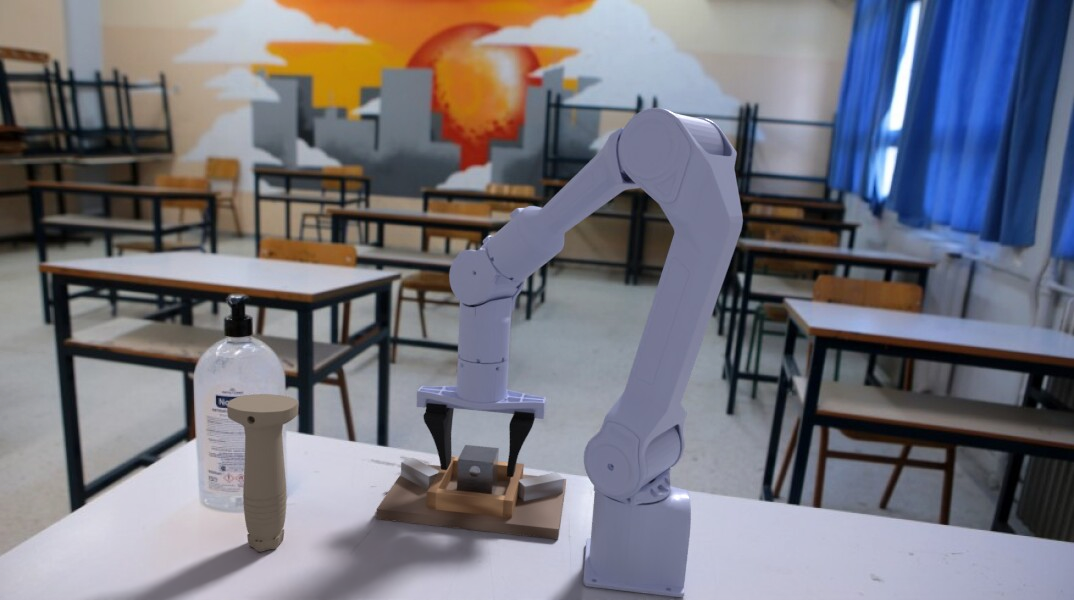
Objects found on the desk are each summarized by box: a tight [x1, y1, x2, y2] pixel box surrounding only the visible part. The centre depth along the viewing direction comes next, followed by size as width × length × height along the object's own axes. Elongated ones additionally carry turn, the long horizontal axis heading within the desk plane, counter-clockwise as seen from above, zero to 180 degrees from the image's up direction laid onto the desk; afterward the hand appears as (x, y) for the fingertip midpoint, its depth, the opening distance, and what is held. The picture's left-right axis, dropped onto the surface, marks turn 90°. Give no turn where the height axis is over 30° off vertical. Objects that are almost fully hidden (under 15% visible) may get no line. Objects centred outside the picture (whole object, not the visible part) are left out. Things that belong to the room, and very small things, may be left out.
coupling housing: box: [375, 455, 567, 540], centre depth 79 cm, size 20×12×3 cm, turn 84°
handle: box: [226, 393, 299, 553], centre depth 67 cm, size 5×6×15 cm
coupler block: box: [457, 444, 500, 494], centre depth 78 cm, size 4×5×5 cm
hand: (478, 469), depth 78 cm, fingers open, 7 cm apart
